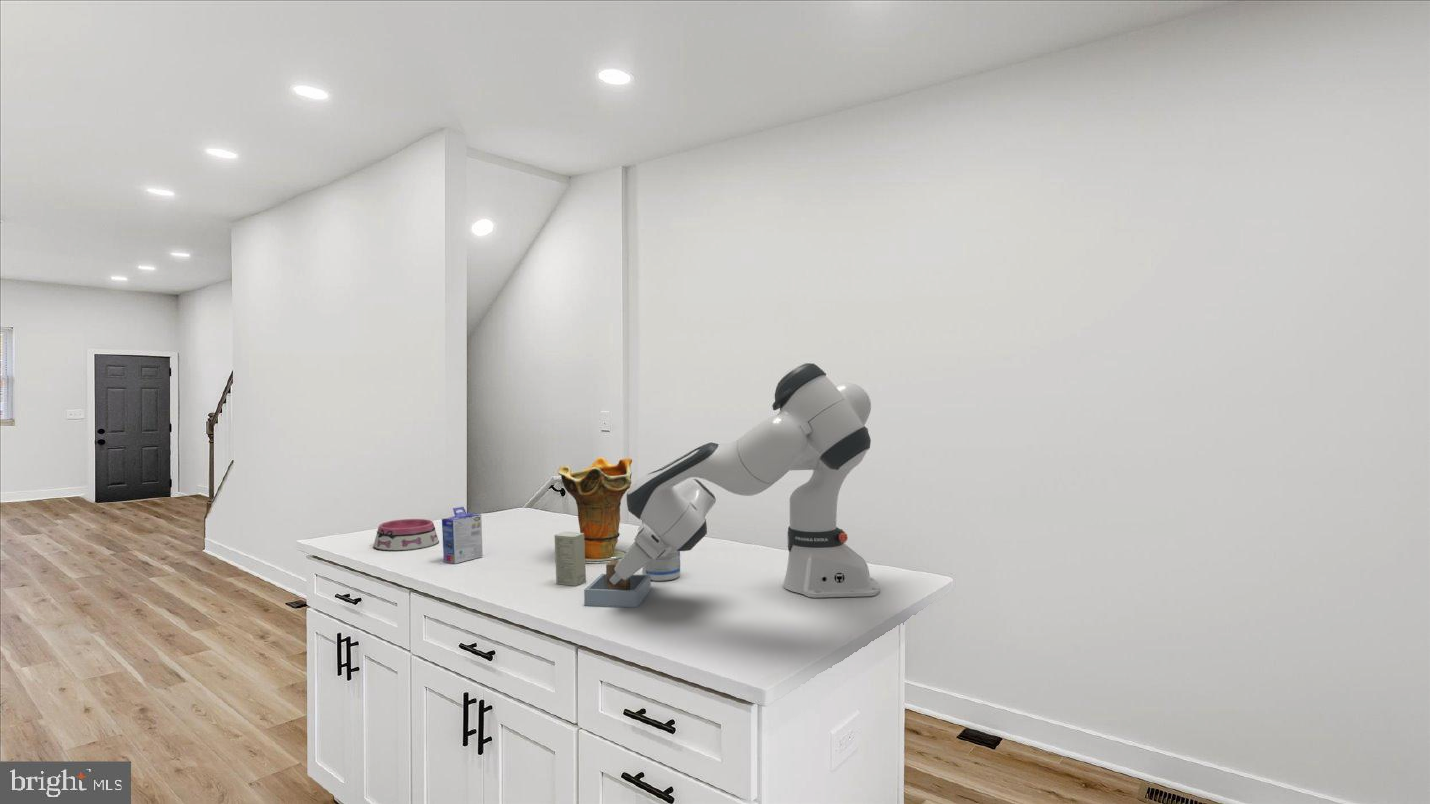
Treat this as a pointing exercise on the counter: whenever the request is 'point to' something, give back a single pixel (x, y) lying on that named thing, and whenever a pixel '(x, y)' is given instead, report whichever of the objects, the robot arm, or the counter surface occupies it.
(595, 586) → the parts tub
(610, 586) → the walnut block
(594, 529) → the decorative vase
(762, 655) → the counter surface
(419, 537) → the dog bowl
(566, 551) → the skincare box
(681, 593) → the counter surface
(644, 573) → the supplement tub
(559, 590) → the counter surface
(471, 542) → the ink cartridge box
